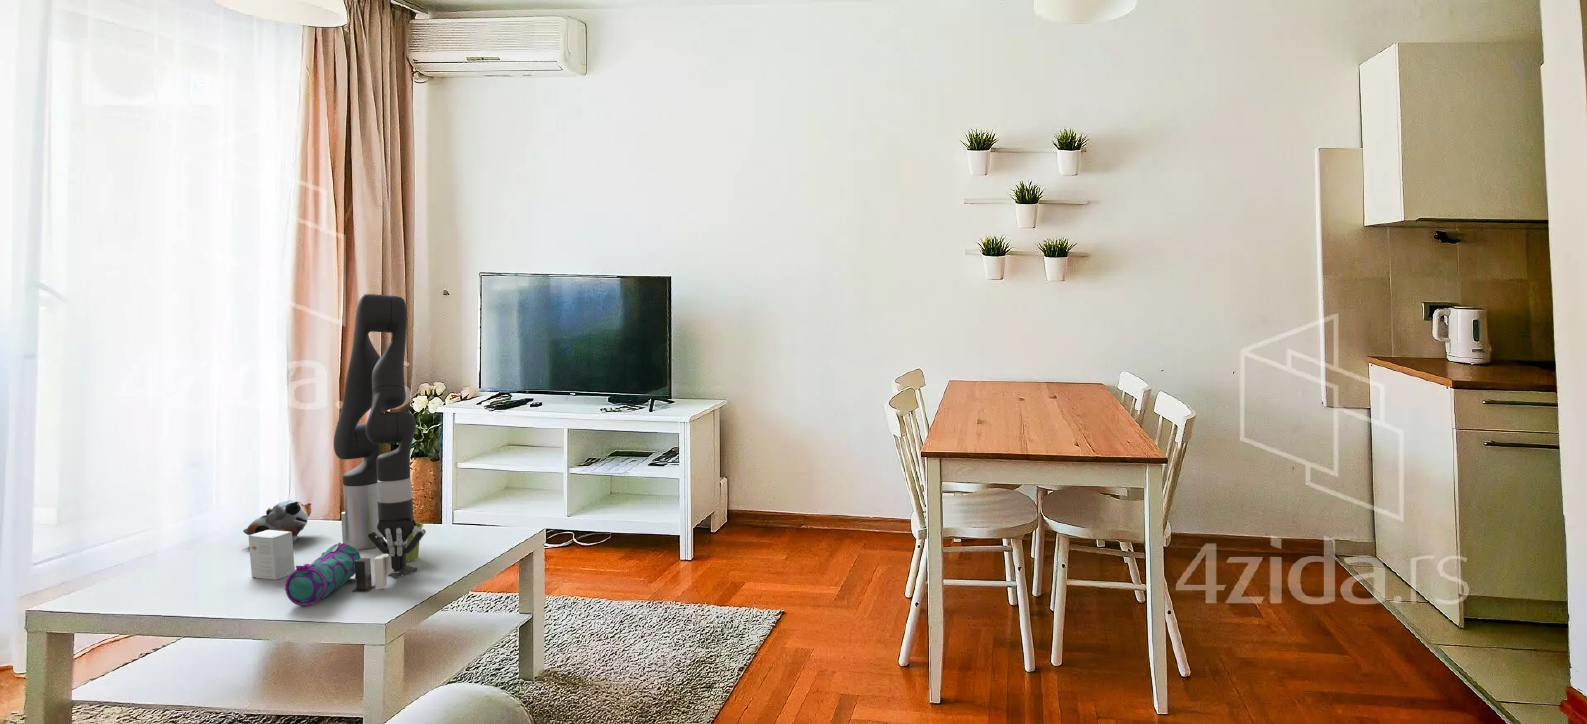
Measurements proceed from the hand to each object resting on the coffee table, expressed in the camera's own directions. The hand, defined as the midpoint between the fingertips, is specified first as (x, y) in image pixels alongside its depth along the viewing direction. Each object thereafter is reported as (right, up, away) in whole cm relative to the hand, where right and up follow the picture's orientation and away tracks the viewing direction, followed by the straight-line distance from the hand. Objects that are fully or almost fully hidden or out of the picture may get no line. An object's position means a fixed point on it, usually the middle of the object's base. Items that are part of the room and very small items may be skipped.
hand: (399, 570), depth 210 cm
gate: (-4, -3, +2) cm, 5 cm away
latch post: (-7, -4, -2) cm, 8 cm away
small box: (-35, -4, +9) cm, 36 cm away
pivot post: (-4, -3, +10) cm, 11 cm away
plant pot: (-7, -2, +20) cm, 22 cm away
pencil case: (-15, -5, -4) cm, 16 cm away
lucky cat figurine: (-50, -1, +39) cm, 64 cm away
